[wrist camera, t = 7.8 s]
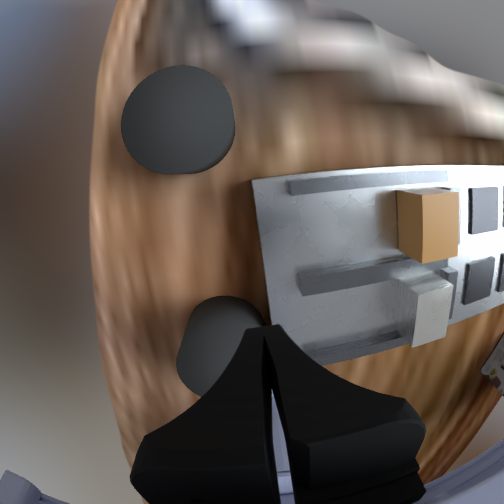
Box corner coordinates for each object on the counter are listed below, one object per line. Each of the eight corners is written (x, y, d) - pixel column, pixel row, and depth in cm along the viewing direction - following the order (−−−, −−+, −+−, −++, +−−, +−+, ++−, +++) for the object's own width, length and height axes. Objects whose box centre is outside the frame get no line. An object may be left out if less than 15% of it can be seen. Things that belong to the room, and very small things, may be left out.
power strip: (273, 345, 23) (282, 395, 17) (250, 179, 19) (254, 181, 13) (501, 286, 23) (537, 307, 17) (508, 165, 19) (550, 170, 13)
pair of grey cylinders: (197, 364, 23) (189, 404, 18) (144, 100, 17) (117, 81, 13) (268, 355, 23) (274, 396, 18) (228, 82, 17) (224, 56, 13)
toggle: (398, 250, 18) (422, 263, 15) (396, 190, 17) (421, 194, 14) (432, 244, 18) (457, 256, 15) (431, 187, 17) (458, 191, 14)
